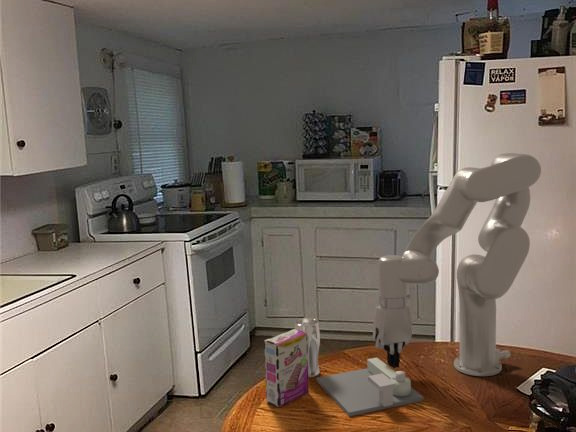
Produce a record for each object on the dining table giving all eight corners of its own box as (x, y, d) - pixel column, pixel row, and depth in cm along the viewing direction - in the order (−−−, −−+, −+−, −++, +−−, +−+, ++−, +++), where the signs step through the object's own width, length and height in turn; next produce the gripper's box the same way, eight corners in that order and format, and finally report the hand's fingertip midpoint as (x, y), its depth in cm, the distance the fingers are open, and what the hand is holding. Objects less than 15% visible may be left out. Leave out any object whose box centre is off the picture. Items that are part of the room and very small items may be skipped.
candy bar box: (280, 408, 137) (276, 344, 135) (265, 402, 141) (262, 340, 139) (310, 392, 145) (307, 331, 143) (296, 387, 149) (293, 327, 146)
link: (414, 394, 139) (414, 375, 138) (396, 397, 137) (396, 378, 137) (380, 367, 156) (380, 350, 155) (364, 370, 154) (363, 352, 154)
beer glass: (319, 378, 153) (317, 325, 151) (294, 377, 155) (291, 325, 153) (322, 368, 160) (320, 317, 158) (298, 367, 161) (296, 317, 159)
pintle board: (382, 368, 158) (382, 347, 157) (424, 401, 137) (424, 377, 137) (316, 381, 152) (315, 359, 151) (350, 417, 131) (349, 392, 130)
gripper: (407, 294, 158) (408, 356, 160) (361, 301, 152) (362, 366, 155) (424, 300, 151) (424, 365, 154) (376, 309, 145) (377, 376, 148)
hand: (393, 365), depth 154 cm, fingers closed
